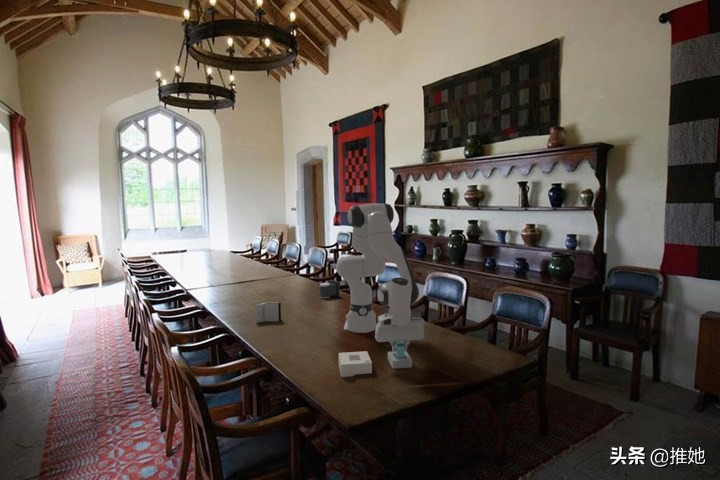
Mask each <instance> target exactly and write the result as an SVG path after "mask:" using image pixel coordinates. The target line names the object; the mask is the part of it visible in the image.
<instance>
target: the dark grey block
mask: <svg viewBox="0 0 720 480" xmlns="http://www.w3.org/2000/svg"><path fill="white" fill-rule="evenodd" d="M340 289H341V288H340V281H337V280H333V279H329V280H328V282H321V283H320V284H319V287H318V290H319V297H320V299H322V298H324V299H323V300H325V299H326V298H327V299H330V298H331V297H336V296H337V297H336V298H340V296H341V291H340Z"/></svg>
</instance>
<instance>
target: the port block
mask: <svg viewBox="0 0 720 480" xmlns="http://www.w3.org/2000/svg"><path fill="white" fill-rule="evenodd" d="M338 368H339V373H340V376H341V377H340V378H349V377H355V375H363V374H367V375H368V374H373V362H372V360H371V357H370V355H369V353H368V351H367V350H366V351H351V352H350V351H349V352H348V351H347V352H346V351H345V352H338Z"/></svg>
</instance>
